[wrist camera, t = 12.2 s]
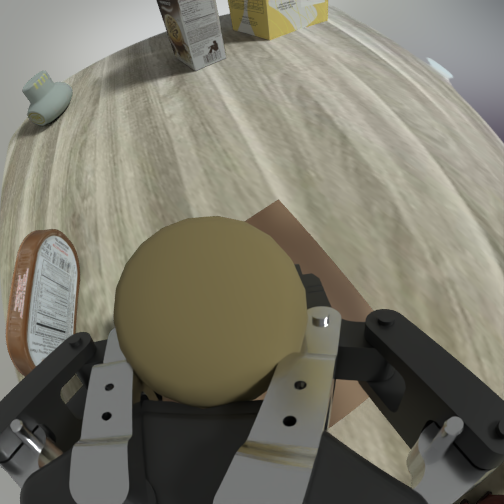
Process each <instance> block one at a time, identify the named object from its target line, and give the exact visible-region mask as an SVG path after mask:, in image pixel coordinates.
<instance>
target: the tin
mask: <svg viewBox="0 0 504 504" xmlns="http://www.w3.org/2000/svg"><path fill="white" fill-rule="evenodd" d="M79 284H80V267H79V260H78V256H77V253H76V250H75V248H74V246H73V244H72V242H71V241H70V240H69V239H68V238H67V237H66V235H64V234H63V233H62V232H61V231H59V230H56V229H49V230H36V231H33V232H31V233H30V234H28V235H27V236H26V237H25V239H24V240H23V242H22V243H21V245H20V247H19V250H18V254H17V258H16V263H15V268H14V273H13V278H12V284H11V291H10V297H9V305H8V313H7V322H6V343H7V348H8V352H9V355H10V358H11V360H12V362H13V364H14V365H15V367H16V368H17V370H18V371H19V372H20V373H21V374H22V375H24V376H25V377H26V376H27V375H28V374H29V373H30V372H31V371H32V370H33V369H34V368H35V367H36V366H37V365H38V364H39V363H41V362H42V361H43V360H44V359H45V358H46V357H47V356H48V355H49V354H50V353H51V352H52V351H54V350H55V349H56V348H57V347H58V346H59V345H60V344H61V343H62V342H63V341H65V340H66V339H67V338H68V337H70V336H71V335H73V334H75V330H76V315H77V303H78V293H79Z"/></svg>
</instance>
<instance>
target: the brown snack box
mask: <svg viewBox="0 0 504 504" xmlns="http://www.w3.org/2000/svg"><path fill="white" fill-rule="evenodd" d="M157 3H158V6H159V9H160V12H161V15H162V18H163V21H164V24H165V27H166V30H167V33H168V36H169V39H170V42H171V45H172V48H173V51H174V54H175V57H176V58H177V59H179V60H180V61H182V62H183V63H185V64H186V65H188V66H189V67H190V68H192V69H193V70H195V71H197V70H199V69H201V68H204V67H206V66H208V65H211V64H213V63H215V62H218V61H220V60H223V59H225V58H226V52H225V47H224V42H223V37H222V32H221V26H220V21H219V16H218V11H217V5H216V1H215V0H157Z"/></svg>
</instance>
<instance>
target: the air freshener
mask: <svg viewBox="0 0 504 504" xmlns="http://www.w3.org/2000/svg"><path fill="white" fill-rule="evenodd" d="M23 93H24V94H25V96H26V97H27V98H28V100H29V101H30V103H31V104H30V106H29V109H28V114H27V115H28V118H29V119H30V120H31V121H32V122H33V123H35V124H37V125H45V124H48V123H50V122H52V121H53V120H55V119H56V118H57V117H58V116H59V115H61V114H62V112H63V111H64V110H65V109H66V107H67V106H68V104H69V102H70V100H71V98H72V88H71V87H70V86H69V85H68V84H66V83H64V82H56V83H53V81H52V80H51V78H50V77H49V75H48V73H47V72H46V71H41V72H39V73H38V74H36V75H35V76H34V77H33V78H31V79H30V80H29V81H28V82H27V83H26V85H25V86H24V87H23Z"/></svg>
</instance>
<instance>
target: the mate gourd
mask: <svg viewBox="0 0 504 504" xmlns="http://www.w3.org/2000/svg"><path fill="white" fill-rule="evenodd" d="M491 494H492V492H490V491H488V492H487V493H486V494H485V495H484V496H483V497H482V498H481V499H480V500H479V501H478V502H477V503H476V504H504V495H491ZM460 504H469V502H468V501H467V500H466V499H464V500H463V501H462V502H460Z"/></svg>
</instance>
